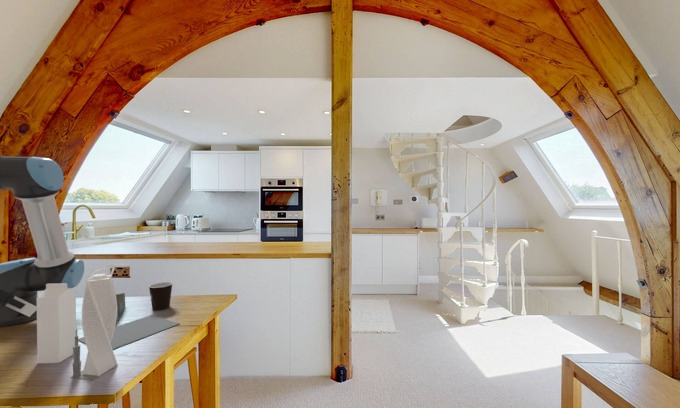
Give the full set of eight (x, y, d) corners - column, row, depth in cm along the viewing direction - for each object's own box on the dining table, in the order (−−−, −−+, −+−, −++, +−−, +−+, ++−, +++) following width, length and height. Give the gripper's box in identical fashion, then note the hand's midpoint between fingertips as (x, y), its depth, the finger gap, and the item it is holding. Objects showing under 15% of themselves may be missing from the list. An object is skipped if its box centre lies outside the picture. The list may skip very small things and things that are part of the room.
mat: (77, 340, 98) (77, 339, 98) (152, 315, 119) (152, 314, 119) (103, 353, 89) (103, 352, 89) (179, 324, 111) (179, 323, 111)
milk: (56, 353, 90) (55, 280, 90) (77, 352, 90) (76, 280, 90) (36, 364, 84) (35, 286, 84) (59, 363, 84) (58, 286, 84)
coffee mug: (169, 310, 125) (169, 286, 125) (146, 312, 122) (145, 288, 122) (176, 301, 136) (176, 279, 136) (155, 303, 134) (155, 281, 134)
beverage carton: (92, 326, 109) (92, 308, 109) (103, 310, 126) (102, 294, 126) (119, 322, 113) (118, 305, 113) (125, 306, 130) (125, 291, 130)
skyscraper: (101, 361, 85) (100, 265, 85) (125, 363, 84) (124, 266, 84) (70, 378, 77) (69, 272, 77) (97, 381, 76) (95, 273, 76)
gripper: (-95, 273, 68) (11, 320, 83) (-85, 280, 62) (28, 329, 77) (-57, 247, 73) (37, 295, 88) (-44, 251, 66) (55, 303, 81)
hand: (33, 311), depth 82 cm, fingers closed
